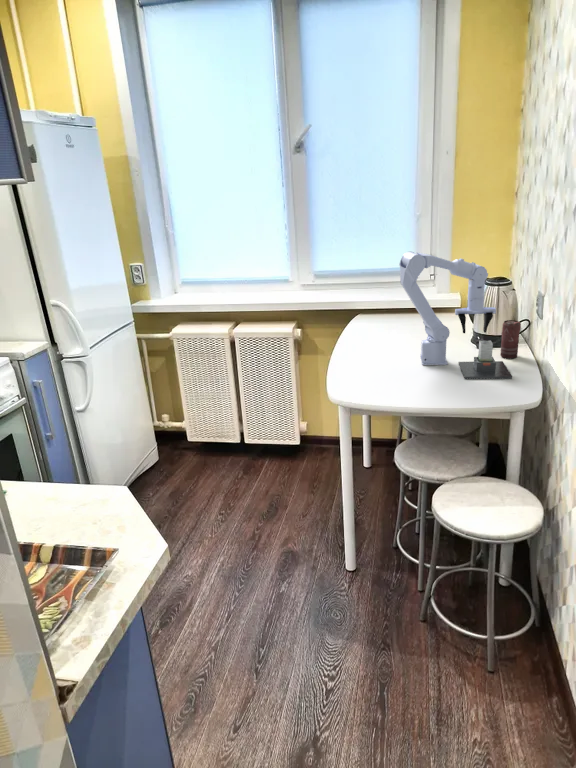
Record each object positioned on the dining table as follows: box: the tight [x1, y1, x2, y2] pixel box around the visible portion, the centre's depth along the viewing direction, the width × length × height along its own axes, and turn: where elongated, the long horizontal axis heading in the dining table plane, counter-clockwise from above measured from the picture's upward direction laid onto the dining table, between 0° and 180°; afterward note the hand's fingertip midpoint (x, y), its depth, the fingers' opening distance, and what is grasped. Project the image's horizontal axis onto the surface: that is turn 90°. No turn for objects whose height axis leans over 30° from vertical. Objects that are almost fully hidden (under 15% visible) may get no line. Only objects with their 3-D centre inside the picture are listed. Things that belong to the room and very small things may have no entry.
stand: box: [457, 356, 513, 380], centre depth 204 cm, size 16×16×4 cm
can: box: [499, 319, 522, 360], centre depth 215 cm, size 6×6×14 cm
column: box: [477, 340, 494, 362], centre depth 202 cm, size 4×4×8 cm
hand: (474, 332), depth 215 cm, fingers open, 7 cm apart
